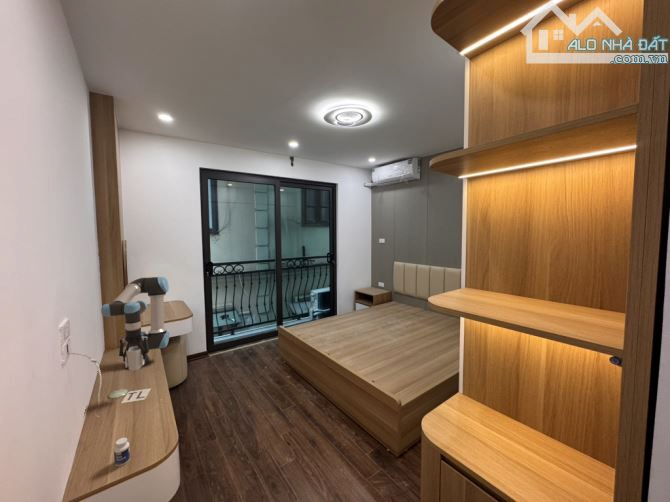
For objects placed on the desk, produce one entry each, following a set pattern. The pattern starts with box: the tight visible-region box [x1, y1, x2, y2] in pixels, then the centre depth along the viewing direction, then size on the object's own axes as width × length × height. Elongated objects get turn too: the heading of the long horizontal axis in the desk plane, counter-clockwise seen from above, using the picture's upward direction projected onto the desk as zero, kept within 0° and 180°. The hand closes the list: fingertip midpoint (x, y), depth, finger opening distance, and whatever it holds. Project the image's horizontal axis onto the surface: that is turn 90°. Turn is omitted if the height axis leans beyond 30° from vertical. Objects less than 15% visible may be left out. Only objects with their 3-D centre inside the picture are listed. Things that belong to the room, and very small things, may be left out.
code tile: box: [120, 388, 152, 404], centre depth 168 cm, size 12×12×1 cm
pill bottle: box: [113, 437, 131, 467], centre depth 120 cm, size 5×5×10 cm
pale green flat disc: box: [108, 388, 129, 400], centre depth 169 cm, size 9×9×1 cm
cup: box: [126, 346, 143, 371], centre depth 166 cm, size 8×8×12 cm
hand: (135, 365), depth 166 cm, fingers closed on cup, 7 cm apart
